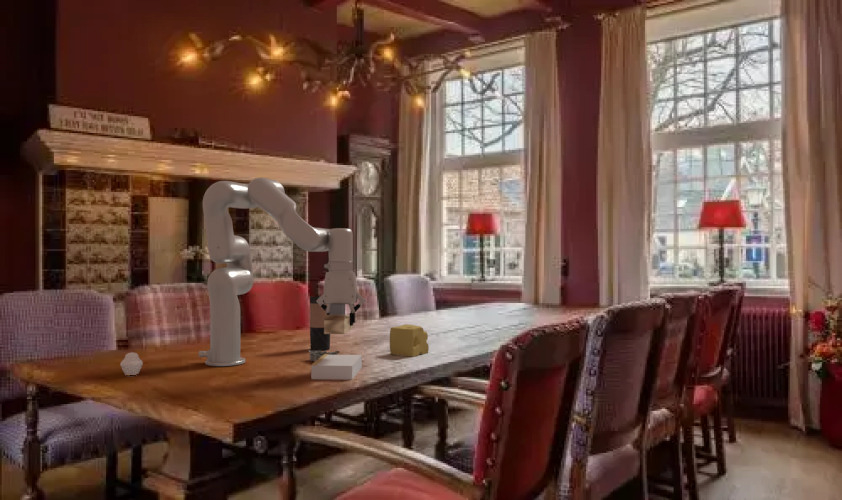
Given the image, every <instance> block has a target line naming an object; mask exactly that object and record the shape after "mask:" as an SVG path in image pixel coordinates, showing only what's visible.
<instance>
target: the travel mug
mask: <svg viewBox="0 0 842 500" xmlns="http://www.w3.org/2000/svg"><path fill="white" fill-rule="evenodd" d="M320 296H321V295H316V296H312V295H311V296H310V297H309V301H310V302H309V335H310V336H309V339H310V340H309V341H310V351H320V350H321V352H324V351H326V352H327V351H329V350H330V348H331V334H324V315H327V313H326V311H325V310H324V309H323V308H322V307H321V306H320V305H319V304H318V303H317V302H316V301H317V299H318V298H319V297H320ZM323 303H324V304H326V303H325V302H324V299H323ZM326 305H327V306H328V304H326Z"/></svg>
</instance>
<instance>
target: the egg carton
mask: <svg viewBox="0 0 842 500" xmlns="http://www.w3.org/2000/svg"><path fill="white" fill-rule="evenodd" d="M308 352H309V361H310V362H313V363H314V362H315V361H317V360H318V359H319V358H320V357H322V356H323V355H324V354H328V355H339V354H340V351H339V350H335V351H331V352H330V351H329V352H327V350H326V351H321V350H320V351H313V350H311V349H309V350H308Z"/></svg>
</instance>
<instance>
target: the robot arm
mask: <svg viewBox="0 0 842 500" xmlns="http://www.w3.org/2000/svg"><path fill="white" fill-rule="evenodd" d="M285 192H286V191H285V188H284V186H283V185H282V184H281V182H279V181H277V180H276V179H270V178H266V177H256V178H253V179H252V180H250V182H249V183H242V182H241V183H240V182H236V181H230V180H220V181H216V182H215V183H212V184H211V185H210V186H209V187H208V188H207V189H206V191H205V193H204V195H203V198H202V210H203V215H204V216H203V217H204V222H205V233H206V241H207V249H208V252H207V253H208V255H209V258H210V260H211V261H212V262H213V263H216V264H226V267H218V268H216V269H213V271H211V273H210V274H209V276H208V278H207V283H206V285H207V293H208V298H209V309H210V311H209V314H210V315H209V316H210V321H209V322H210V329H209V331H210V332H209V333H210V335H209V336H210V341H209V343H210V345H209V346H210V348H209V349H208V350H199V351H198V358H206V360H205V365H206V366H211V367H230V366H231V367H232V366H238V365H243V364H245V363H246V358H245V357H243V356H241V303H240V300H239V298H238V297H239V296H240V295H245V294H247V293H248V292H250V291H251V290H252V288H253V286H254V269H253V268H254V267H253V259H252V251H251V247H250V244H249V242H248V241H247V240H246V239H245V238H244V237H243V236H239V235H235V232H234V228H233V220H232V216H231V215H230V212H229V210H228V209H229V208H234V209H254V208H260V209H261V210H263V211H264V212H265V213H266V214H267V215H268V216H270V218H272V219H273V220H274V221H275V222H277V224H278V227H279V228H280V230H281V231H282V233H283V234H284V235H285V236H286V237H287V238H288V239H289V240H290V241H291V242H293V243H294V244H295V245H296V246H297V247H298V248H300V249H302V250H303V251H304V252H313V253H314V252H316V253H320V252H321V253H323V252H328V262H327V263H324V264H323V268H324V269H326V270H328V272H325V275H324V282H323V283H324V286H323V293H322V294H321V295H319V296H320V297H319V298H318V299H317V301H316V302H317V303H318V304H319V305H320V306H321V307H322V308H323V309H324V310H325V311H326V313H327V315H330V305H332V304H345V305H348V307H349V310H350V313H349V315H350V326H352V327H353V326H354V323H356V312H357V311H358V310H359V309H360V308H361V307H362V306H363V305H364V304H365V303H366V299H365V298H364V296H362V295H361V294H360V293H359V292H358V284H357V283H358V281H357V275H356V272H355V271H354V253H353V252H354V249H353V248H354V247H353V246H354V244H353V243H354V241H353V240H354V235H353V231H352V229H350V228H345V227H344V228H341V227H339V228H338V227H336V228H322V227H313V226H312V225H310V224H309V223H308V222H306V220H304V219H303V218H302V217H301V216H300V215H299V214H298V212H297V203H296V202H295V200H293V199H292V198H291V197H289V196H288V195H287V194H286V193H285ZM323 299H324V302H325V303H326V304H328V306H327V305H326V304H324V303H323ZM358 301H359V302H358ZM357 302H358V303H357ZM355 303H357V304H356V305H355Z"/></svg>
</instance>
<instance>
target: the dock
mask: <svg viewBox="0 0 842 500" xmlns="http://www.w3.org/2000/svg"><path fill="white" fill-rule="evenodd" d="M362 361H363V354H337V355H328V354H324V355H323V356H322V357H320V358H319V359H318V360H317V361H315V362H314V361H313V363H311V365H310V366H311V373H310V374H311V377H310V378H311V380H345V381H346V380H348V381H349V380H353V379H354V378H355V377H356V376H357V374H358V373H359V372H360V370H361V369H362V368H363V364H362Z"/></svg>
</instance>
